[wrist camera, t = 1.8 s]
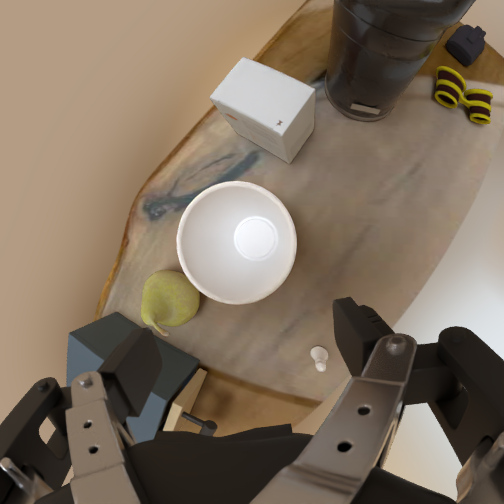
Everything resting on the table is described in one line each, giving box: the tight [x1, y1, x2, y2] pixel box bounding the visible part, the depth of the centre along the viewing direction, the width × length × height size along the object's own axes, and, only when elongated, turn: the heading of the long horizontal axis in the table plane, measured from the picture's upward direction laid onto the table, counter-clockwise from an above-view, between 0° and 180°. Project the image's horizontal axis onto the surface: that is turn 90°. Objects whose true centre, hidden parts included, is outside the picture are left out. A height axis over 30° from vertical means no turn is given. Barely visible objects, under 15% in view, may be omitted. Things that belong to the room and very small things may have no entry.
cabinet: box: [67, 312, 200, 443], centre depth 32 cm, size 15×12×11 cm
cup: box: [177, 181, 297, 305], centre depth 27 cm, size 10×10×11 cm
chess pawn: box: [310, 346, 328, 372], centre depth 30 cm, size 3×2×4 cm
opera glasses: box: [435, 66, 493, 124], centre depth 23 cm, size 10×5×5 cm, turn 75°
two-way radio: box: [446, 25, 486, 66], centre depth 21 cm, size 6×4×15 cm
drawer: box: [159, 368, 217, 436], centre depth 31 cm, size 18×10×9 cm, turn 67°
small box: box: [210, 57, 316, 164], centre depth 26 cm, size 8×6×10 cm
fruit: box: [141, 270, 200, 337], centre depth 29 cm, size 7×8×12 cm
